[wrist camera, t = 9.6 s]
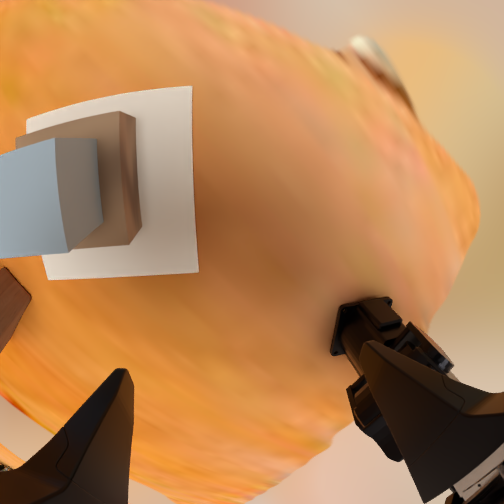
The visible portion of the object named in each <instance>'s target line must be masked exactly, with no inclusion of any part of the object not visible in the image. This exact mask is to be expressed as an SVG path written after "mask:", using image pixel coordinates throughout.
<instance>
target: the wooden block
mask: <svg viewBox="0 0 504 504" xmlns="http://www.w3.org/2000/svg"><path fill="white" fill-rule="evenodd" d="M30 299H31V297H30V295H29V294H28V293H27V292H26V291H25V289H24V288H23V287H22V286H21V285H20V284H19V283H18V282H17V281H16V279H15V278H14V277H13V276H12V275H11V274H10V273H9V271H8V270H7V269H6V268H2V269H1V270H0V353H1V352H2V350H3V349H4V347H5V346H6V344H7V343H8V341H9V340H10V338H11V336H12V334H13V332H14V330H15V328H16V326H17V324H18V322H19V320H20V318H21V317H22V315H23V313H24V311H25V309H26V307H27V306H28V304H29V302H30Z"/></svg>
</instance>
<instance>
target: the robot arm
mask: <svg viewBox="0 0 504 504" xmlns="http://www.w3.org/2000/svg"><path fill="white" fill-rule="evenodd" d="M387 302H388V303H387ZM391 305H392V299H391V298H390V297H386V298H378V299H373V300H367V301H362V302H358V303H352V304H345V305H342V306H341V307H340V308H339V312H338V317H337V322H336V327H335V331H334V336H333V341H332V345H331V350H330V353H331V355H332V356H338V355H342V354H345V355H346V356H347V358H348V359H349V361H350V362H351V364H352V365H353V367H354V368H355V370H356V372H357V373H358V375H359V376H360V378H359V379H358V380H357V381H356V382H354V383H353V384H352V385H350V386H349V387H348V388H347V389H346V391H347V395H348V398H349V402H350V406H351V409H352V413H353V417H354V420H355V424H356V425H357V426H358V427H359V429H360V430H361V431H363V432H364V433H365V434H366V435H368V436H369V437H371V438H373V439H374V441H375V442H377V444H378V445H379V446H380V448H381V449H382V451H383V452H384V453H385V455H386V456H387V457H388V458H389V459H391V460H394V461H396V462H400V461H402V460H403V459H404V460H405V463H406V465H407V467H408V469H409V472H410V474H411V476H412V478H413V480H414V483H415V485H416V487H417V489H418V492H419V494H420V496H421V499H422V501H423V503H424V504H425V503H427V502H429V501H430V500H432V499H434V498H435V497H437V496H438V495H440V494H441V493H443V492H444V491H446V490H447V489H449V488H450V490H451V491H452V492H453V493H452V494H451V495H450V496H448V497H447V498H446V501H445V504H504V392H501V393H489V392H485V391H482V390H480V389H477V388H474V387H471V386H469V385H466V384H463V383H461V382H460V381H459V380H458V379H457V378H456V377H455V376H454V375H453V374H452V373H451V372H450V370H451V369H452V368H453V366H454V364H453V363H452V361H451V360H450V359H449V357H448V356H447V355H446V354H445V352H444V351H443V350H442V349H441V348H440V347H439V346H438V345H437V344H436V343H435V342H434V341H433V340H432V339H431V338H430V337H429V336H428V335H427V334H426V333H424V332H423V331H422V330H421V329H419V328H418V327H417V326H416V325H414V324H413V323H412V322H410V321H409V323H408V324H407V325H406V326H407V327H406V326H405V325H404V324H403V323H402V319H401V317H400V316H399V315H398V314H397V313H396V312H394V311H393V310H392V309H391ZM344 309H345V310H344ZM343 310H344V311H343ZM133 425H134V384H133V381H132V379H131V376H130V374H129V372H128V370H127V369H125V368H117V369H115V370H114V371H113V372H112V373H111V374H110V376H109V377H108V378H107V379H106V380H105V381H104V382H103V383H102V384H101V385H100V386H99V387H98V388H97V390H96V391H95V392H94V393H93V394H92V395H91V396H90V397H89V398H88V399H87V400H86V402H85V403H84V404H83V405H82V406H81V407H80V408H79V409H78V410H77V411H76V413H75V414H74V415H73V416H72V417H71V418H70V419H69V420H68V421H67V423H66V424H65V425H64V427H62V428H61V429H60V430H59V431H58V433H57V434H56V435H55V436H54V437H53V438H52V439H51V440H50V441H49V442H48V443H47V444H46V445H45V446H44V447H43V448H41V450H39V451H38V452H37V453H36V454H35V455H34V456H32V457H31V458H30V459H29V460H28V461H27V462H26V463H24V464H23V465H22V466H20V467H19V468H17V469H14V470H9V471H0V504H128V485H129V468H130V455H131V444H132V435H133Z"/></svg>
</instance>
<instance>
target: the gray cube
mask: <svg viewBox="0 0 504 504" xmlns="http://www.w3.org/2000/svg"><path fill="white" fill-rule="evenodd" d="M103 222H104V221H103V214H102V206H101V197H100V187H99V175H98V160H97V139H93V138H52V139H48V140H45V141H41V142H38V143H35V144H31V145H28V146H25V147H22V148H19V149H16V150H13V151H10V152H8V153H5V154H2V155H0V259H1V258H13V257H25V256H37V255H49V254H62V253H69V252H70V251H71V250H72V249H73V248H74V247H76V246H77V245H78V244H79V243H80V242H81V241H82V240H83V239H84V238H86V237H87V236H88V235H89V234H90V233H91V232H92V231H94V230H95V229H96V228H97V227H98V226H99V225H101V224H102V223H103Z"/></svg>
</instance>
